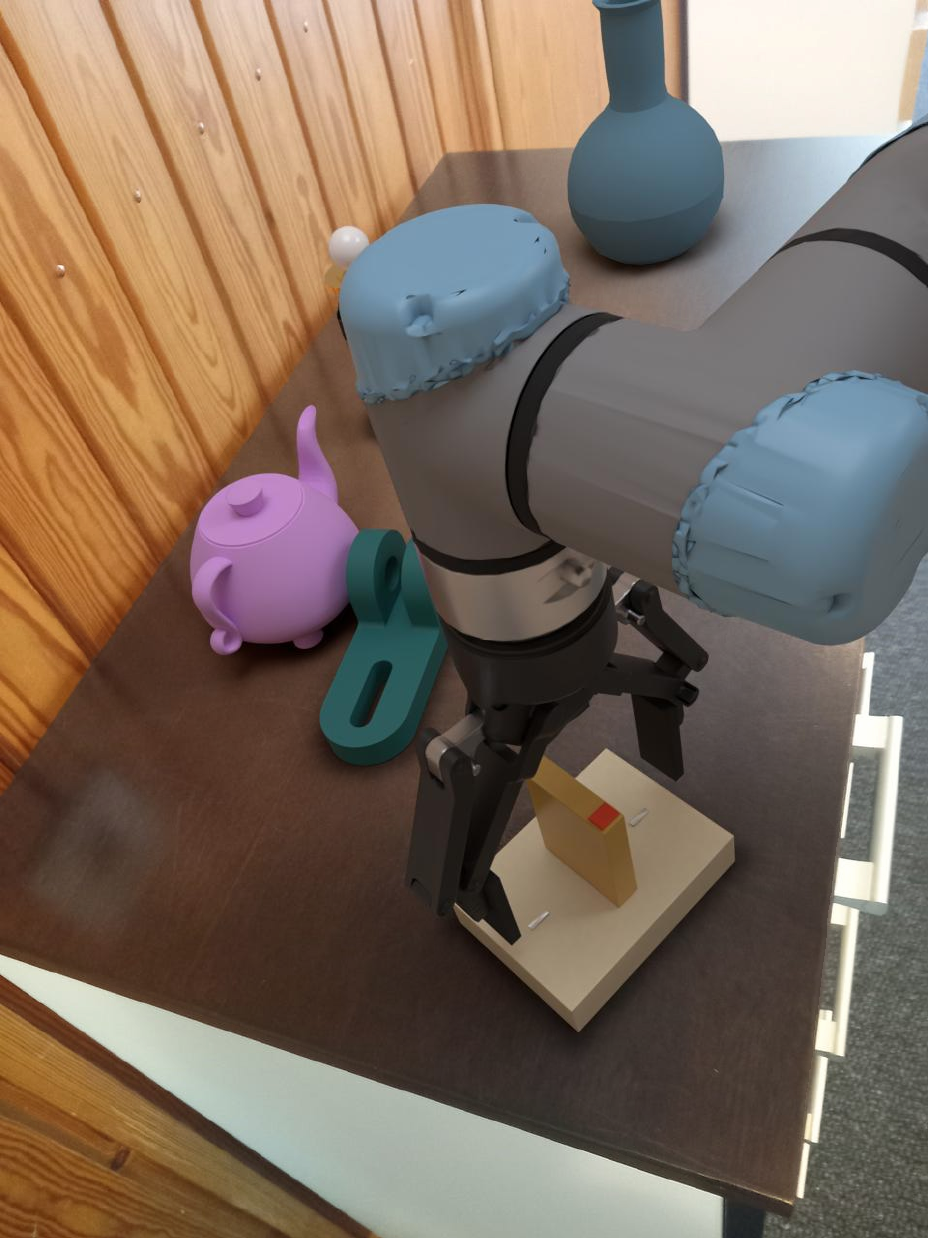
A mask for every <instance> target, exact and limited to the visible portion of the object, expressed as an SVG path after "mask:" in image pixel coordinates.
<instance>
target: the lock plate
mask: <svg viewBox="0 0 928 1238" xmlns="http://www.w3.org/2000/svg"><path fill="white" fill-rule="evenodd" d="M574 778H575V779H576V780H578V781H579V782H580V783H582V784H583V785H584V786H586V787H587V788H588V789H590V790H591V791H592V792H594V793H595V794H596V795H598V796H599V797H600V798H602V799H603V800H604V801H606V802H607V803H608V804H610V805H611V806H612V807H614V808H615V809H617V810H618V811H619V812H621V813H622V814H623V815H624V818H625V824H626V829H627V835H628V840H629V845H630V851H631V856H632V862H633V867H634V873H635V878H636V883H637V890H636V891H635V892H634V893H633V894H632V895H631V896H630V897H629V898H628V899H627V900H626V901H625V902H624V903H623V904H622V905H621V906H620V907H618V906H617V905H615V904H614V903H613V902H612V901H611V900H609V899H608V898H607V897H606V896H604V895H603V894H602V893H601V892H600V891H598V890H597V889H596V888H595V887H593V886H592V885H591V884H590V883H589V882H587V881H586V880H585V879H584V878H583V877H581V876H580V875H579V874H578V873H576V872H575V871H574V870H573V869H572V868H570V867H569V866H568V865H567V864H565V863H564V862H563V861H562V860H561V859H559V858H558V857H557V856H556V855H554V854H553V853H552V852H551V851H550V850H548V849H547V848H546V847H545V844H544V841H543V837H542V834H541V831H540V827H539V824H538V821H537V817H536V816H534V817H533V818H532V819H531V820H530V821H529V822H528V823H527V824H526V825H525V826H524V827H523V828H522V829H521V830H520V831H519V832H518V833H516V834H515V836H514V837H512V838H511V840H510V841H509V842H507V843H506V844H505V845H504V846H503V847H502V848H501V849H500V850H499V851H497V852H496V855H495V857H494V860H493V863H492V865H491V868H490V869H491V870H492V871H493V872H494V873H495V874H496V875H497V876H498V877H500V880H501V883H502V885H503V888H504V891H505V893H506V896H507V899H508V901H509V904H510V907H511V909H512V912H513V915H514V917H515V920H516V922H517V925H518V928H519V930H520V933H521V937H520V938H519V939H518V940H517V941H516V942H515V943H514V944H513V945H512V946H511V945H510V944H509V943H508V942H507V941H506V940H505V939H504V938H503V937H502V936H501V935H499V934H498V933H497V932H496V931H495V930H494V929H493V928H492V927H491V926H490V925H489V924H488V923H487V922H485V921H484V920H483V919H482V920H481V921H480V922H476V921H474V920H473V919H472V918H471V917H470V916H468V915H467V914H466V913H465V912H464V911H463V910H462V909H461V908H460V907H459V906H458V905H457V904H456V903H455V905H454V907H453V908H452V909H453V910H454V912H455V915H456V917H457V919H458V922H459V923H460V924H461V925H462V926H463V927H464V928H465V929H466V930H467V931H468V932H470V933H471V934H472V935H473V936H474V937H475V939H477V940H478V941H479V942H480V943H481V944H482V945H483V946H484V947H486V948H487V950H489V951H490V952H491V953H492V954H493V955H494V956H495V957H496V958H497V959H498V960H499V961H501V963H503V964H504V965H505V966H506V967H507V968H508V969H509V970H510V971H511V972H512V973H514V974H515V975H516V977H518V978H519V979H520V980H521V981H522V982H523V983H524V984H525V985H526V986H527V987H528V988H530V989H531V991H533V993H535V994H536V995H537V996H539V998H540V999H541V1000H542V1001H543V1002H545V1003H546V1004H547V1005H548V1006H549V1007H550V1008H551V1009H552V1010H553V1011H555V1012H556V1014H558V1015H559V1016H560V1017H561V1018H562V1019H563V1020H564V1021H565V1022H566V1023H567V1024H569V1025H570V1026H571V1027H572V1028H573V1029H574V1030H575V1031H576V1032H577V1033H580V1032H581V1031H582V1030H583V1029H584V1028H585V1026H586V1025H587V1024H588V1023H589V1022H590V1021H591V1020H592V1019H593V1018H594V1016H595V1015H596V1014H598V1012H599V1011H600V1010H601V1009H602V1008H603V1006H604V1005H605V1004H606V1003H607V1002H608V1001H609V1000H610V999H611V998H612V997H613V996H614V995H615V993H616V992H617V991H618V990H619V989H620V988H621V987H622V986H623V985H624V983H626V982H627V980H628V979H629V978H630V977H631V976H632V975H633V974H634V973H635V972H636V970H638V968H639V967H640V966H641V965H642V964H643V963H644V962H645V961H646V960H647V958H648V957H649V956H650V955H651V954H653V952H654V951H655V949H657V947H658V946H659V945H660V944H661V943H662V942H663V941H664V940H665V939H666V938H667V936H668V935H669V934H670V933H672V931H673V930H674V929H675V928H676V927H677V926H678V925H679V923H680V922H681V921H682V920H683V919H684V918H685V917H686V915H688V913H689V912H690V911H691V910H692V909H693V908H694V907H695V906H696V905H697V904H698V902H699V901H700V900H701V899H702V898H703V897H704V896H705V895H706V894H707V892H709V890H710V889H711V888H712V887H713V886H714V885H715V884H716V882H718V880H720V878H721V877H723V875H724V874H725V873H726V872H727V871H728V870H729V868H731V866H732V865H733V864H734V863H735V862H736V857H735V856H736V855H735V836H734V834H732V833H731V832H729V831H728V830H726V829H725V828H723V827H722V826H720V825H719V824H717V823H716V822H714V821H713V820H712V819H710V818H709V817H707V816H706V815H704V814H703V813H701V812H700V811H698V810H697V809H695V808H694V807H693V806H691V805H690V804H688V803H687V802H686V801H684V800H682V799H681V798H680V797H678V796H677V795H675V794H674V793H672V792H671V791H670V790H668V789H666V788H665V787H663V786H662V785H660V784H659V782H656V781H655V780H653V779H652V778H650V777H649V776H647V775H646V774H645V773H643V772H642V771H640V770H639V769H638V768H635V766H633V765H631V764H630V763H628V762H627V761H625V760H624V759H623V758H621V757H620V756H619V755H617V754H616V753H614V752H613V751H611V750H609V749H608V748H605V749H604V750H602V752H601V753H600V754H598V755H597V757H595V758H594V759H593V760H592V761H591V762H590V763H589V764H588V765H587V766H586V767H585V768H584V769H583V770H582V771H581V772H580V773H579V774H578V775H577V776H576V777H574Z"/></svg>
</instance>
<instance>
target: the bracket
mask: <svg viewBox="0 0 928 1238" xmlns="http://www.w3.org/2000/svg"><path fill="white" fill-rule="evenodd" d="M346 585H347V592H348V597H349V600H350V602H349V603H350V605H351V607H352V610H353V613H354V614H355V617H356V619H357V627H356V629H355V631H354V634H353V636H352V638H351V640H350V643H349V645H348V647H347V649H346V652H345V654H344V656H343V658H342V661H341V663H340V664H339V667H338V668H337V671H336V674H335V675H334V677H333V680H332V682H331V684H330V687H329V688H328V690H327V691H328V692H327V693H326V696H325V697H324V700H323V702H322V705H321V707H320V711H319V725H320V728H321V731H322V733H323V734H324V737H325V738H326V740H327V742H328V744H329V746H330V748H331V750H332V751H333V753H334V754H335V755H336V757H338V758H339V759H341V760H342V761H343V762H345V763H347V764H350V765H354V766H361V767H365V766H373V765H378V764H382V763H384V762H387V761H389V760H391V759H393V758H394V757H396V756H397V755H398V756H399V755H400V753H402V752H403V751H404V750H405V749H406V748H407V747H408V746H409V744H410V743H411V742H412V740H413V739H414V737H415V735H416V732H417V730H418V727H419V725H420V722H421V720H422V716H423V714H424V711H425V709H426V707H427V704H428V701H429V698H430V696H431V694H432V690H433V688H434V685H435V682H436V679H437V677H438V674H439V671H440V669H441V666H442V663H443V661H444V658H445V656H446V653H447V650H448V649H449V647H448V644H447V641H446V638H445V635H444V633H443V630H442V627H441V624H440V620H439V616H438V612H437V611H436V608H435V606H434V603H433V601H432V598H431V595H430V592H429V589H428V586H427V583H426V580H425V577H424V574H423V571H422V567H421V564H420V561H419V558H418V555H417V552H416V549H415V546H414V543H413V539H412V536H410V539H409V540H408V543H407V542H406V540H405V538H404V536H403V535H402V533H401V532H400V531H399V530H397V529H391V528H362V529H361V530H359V533H358V534H357V535H356V537H355V538H354V540H353V542H352V545H351V547H350V550H349V554H348V559H347V567H346ZM384 682H386V684H385V686H384V688H383V691H382V693H381V695H380V698H379V701H378V703H377V706H376V708H375V710H374V712H373V715H372V717H371V720H370V722H369V723H367V724H366V725H365V723H366V720H367V718H368V716H369V713H370V710H371V708H372V707H373V703H374V701H375V698H376V696H377V694H378V691H379V689H380V686H381V685H382V684H384Z"/></svg>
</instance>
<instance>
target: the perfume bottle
mask: <svg viewBox="0 0 928 1238" xmlns="http://www.w3.org/2000/svg"><path fill="white" fill-rule="evenodd" d="M327 243H328V244H327V252H328V256H329V258H330V260H331V262H332V263H333V264H332V266H330V267H329V268H328V269H327V270H326V272H325V273H324V277H323V279H324V283H325V286H326V288H327V290H329V292H331V293H334V294H337V300H338V301H337V302H338V303H337V311H336V319H337V321H338V324H339V328H340V330H341V333H342V336H343V338H344V340H345V343H346V346H347V347H349V345H348V341H347V337H346V333H345V330H344V326H343V323H342V319H341V316H340V310H339V294H340V288H341V283H342V281H343V278H344V275H345V273H346V272H347V270H348V268H349V266H350V264H351V263H352V262H353V261H354V259H355V258H356V257H357V256H358V255H359V254H360V253H361V252H362V250H363V249H364V248H365V247H367V246H369V245H371V242H370V239H369V238H368V236H367V234H366V233H365V232H364V231H363V230H362V229H360V228H359V227H356V226H353V225H344V226H340V227H339V228H337V229H335V230H334V231H333V232H332V234H331V235H330V237H329V240H328V242H327Z"/></svg>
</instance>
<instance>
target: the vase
mask: <svg viewBox="0 0 928 1238" xmlns="http://www.w3.org/2000/svg"><path fill="white" fill-rule="evenodd" d="M591 3H592V5H593V6H594V7H595V8H596V10H597V11H598V12H599V22H600V23H599V24H600V35H601V44H602V52H603V62H604V69H605V74H606V75H605V76H606V82H607V88H608V94H609V95H608V96H609V98H608V103H607V105H606V106H605V108H604V109H603V111H601V113H599V114H598V115H597V116H596V117H595V119H593V121H592V122H591V123H590V124H589V125H588V126H587V128H586V129H585V130H584V132H583V133H582V134H581V136H580V137H579V138H578V140H577V143H576V145H575V147H574V148H573V151H572V153H571V158H570V163H569V167H568V171H567V183H566V184H567V185H566V186H567V203H568V206H569V210H570V215H571V218H572V220H573V222H574V223H575V225H576V227H577V228H578V229H579V230H578V231H579V232H580V233H581V234H582V236H583V237H584V238H585V239H586V240H587V242H588V244H590V245H591V247H593V249H595V251H596V252H597V253H598V254H599V255H601V256H603V257H606V258H608V259H610V260H612V261H615V262H618V263H621V264H625V265H636V266H645V265H652V264H660V263H662V262H665V261H669V260H671V259H675V258H677V257H679V256H681V255H682V254H683V253H685V252H687V251H688V250H690V249H691V248H693V247H694V246H695V245H696V244H697V243H698V242H700V241H701V240H702V239H703V236H704V235H705V234H706V232H707V231H708V230H709V228H710V226H711V225H712V223H713V221H714V219H715V217H716V215H717V214H718V212H719V209H720V207H721V204H722V201H723V199H724V191H725V190H724V189H725V162H724V155H723V154H724V153H723V147H722V145H721V142H720V141H719V140H720V139H719V138H718V136H717V133H716V131H715V130H714V128H713V127H712V126H711V124H709V122H708V120H706V118H705V117H704V116H702V115H701V113H699V112H698V111H697V110H696V109H695V108H693V106H691V105H690V104H688V103H687V102H685V101H684V100H682V99H680V98H678V97H675V96H673V95H671V93H669V92H668V88H667V85H666V67H665V66H666V62H665V61H666V59H665V58H666V57H665V56H666V55H665V37H664V36H665V35H664V20H663V19H664V18H663V7H662V0H591Z"/></svg>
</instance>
